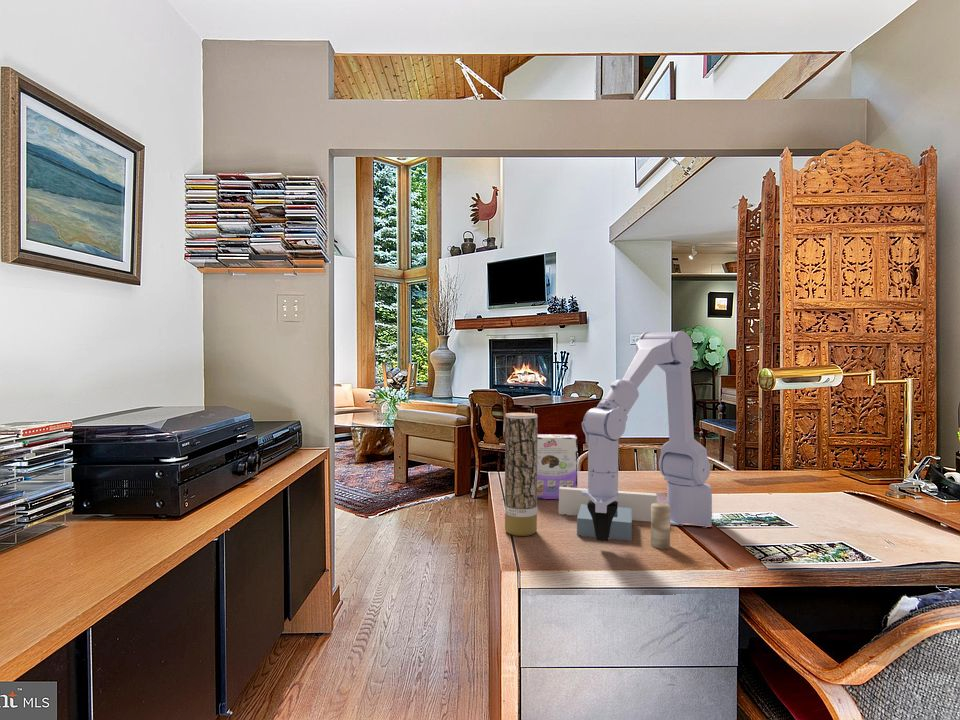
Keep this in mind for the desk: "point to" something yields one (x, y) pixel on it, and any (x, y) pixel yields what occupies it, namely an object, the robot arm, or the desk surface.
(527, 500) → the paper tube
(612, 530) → the socket block
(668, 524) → the dowel
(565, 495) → the wall
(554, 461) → the candy box
